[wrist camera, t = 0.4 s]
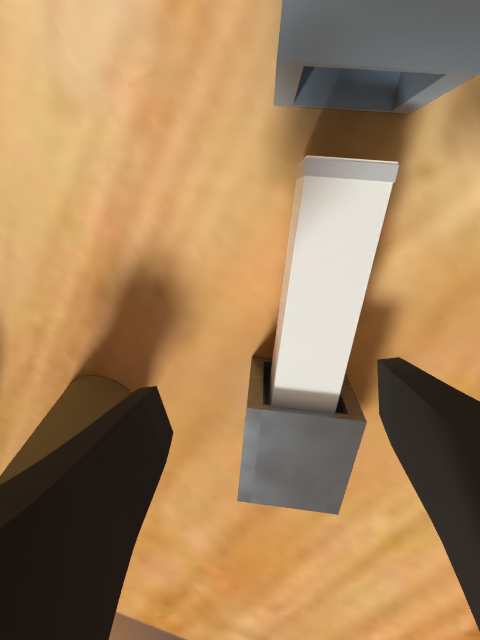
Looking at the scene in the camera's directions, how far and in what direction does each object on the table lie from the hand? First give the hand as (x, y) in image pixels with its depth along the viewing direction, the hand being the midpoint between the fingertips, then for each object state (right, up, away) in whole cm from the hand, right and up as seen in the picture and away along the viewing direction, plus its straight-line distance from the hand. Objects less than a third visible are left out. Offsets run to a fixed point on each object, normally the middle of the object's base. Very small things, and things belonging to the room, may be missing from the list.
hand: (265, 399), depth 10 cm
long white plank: (+3, +2, +9) cm, 10 cm away
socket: (+4, +15, +4) cm, 16 cm away
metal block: (+3, -3, +11) cm, 12 cm away
